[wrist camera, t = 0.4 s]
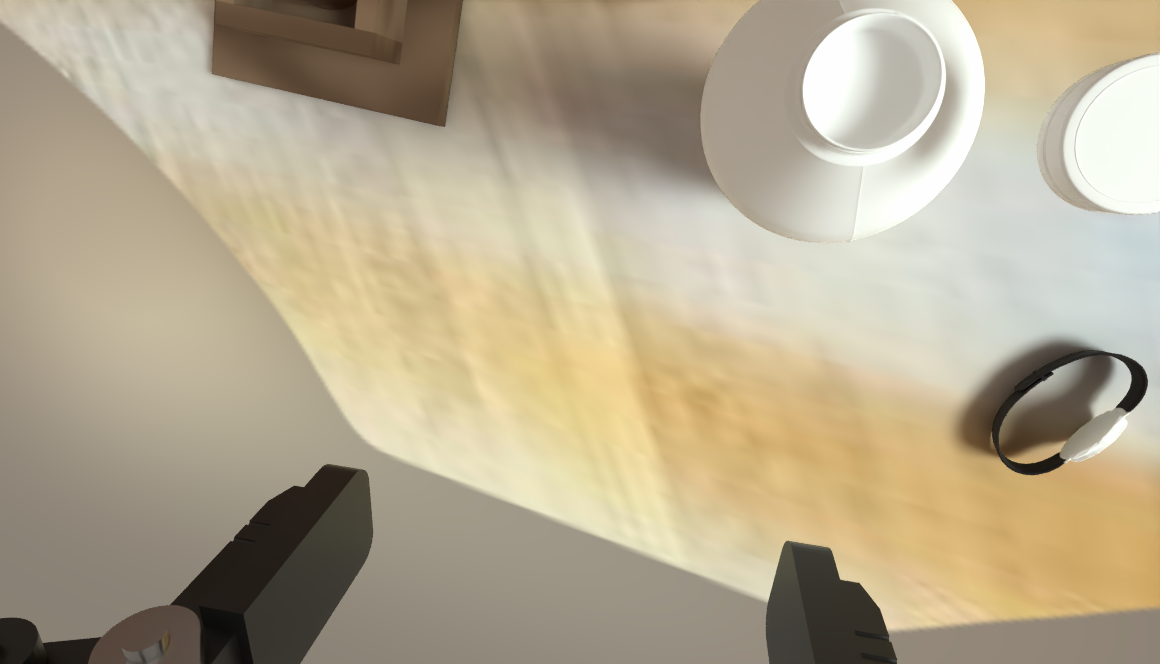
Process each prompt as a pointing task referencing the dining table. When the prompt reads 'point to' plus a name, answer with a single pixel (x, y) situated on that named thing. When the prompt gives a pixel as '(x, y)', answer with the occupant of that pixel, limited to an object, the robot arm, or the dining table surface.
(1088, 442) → the watch
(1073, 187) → the water bottle
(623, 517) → the dining table surface
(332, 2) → the tan tall cup
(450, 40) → the jug holder
